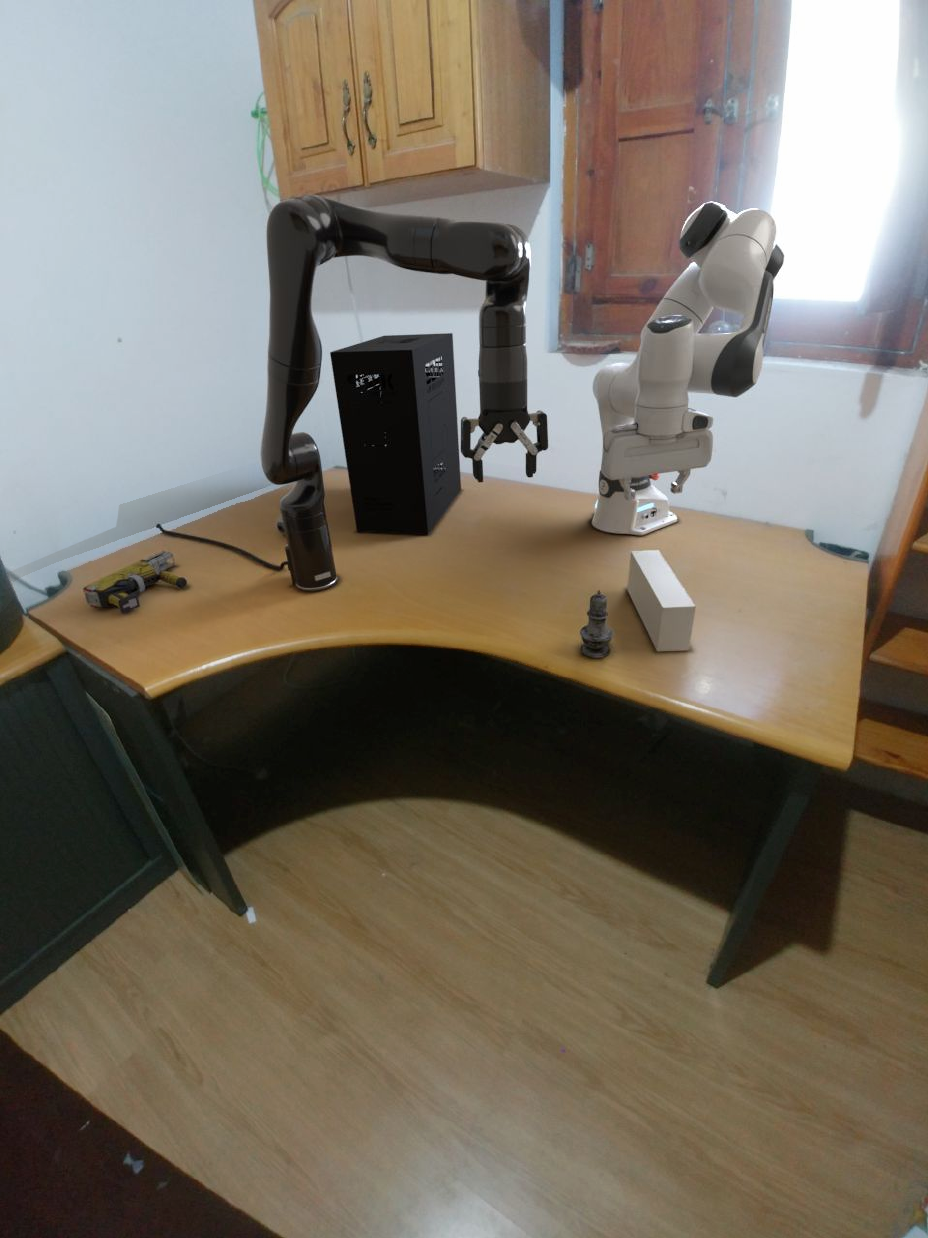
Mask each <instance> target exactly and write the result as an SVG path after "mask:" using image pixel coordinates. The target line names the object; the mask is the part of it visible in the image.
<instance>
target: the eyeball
mask: <svg viewBox="0 0 928 1238" xmlns="http://www.w3.org/2000/svg"><path fill="white" fill-rule="evenodd" d="M275 527H276V529H277V530H278V531H279V532H280V533H281V534H282V535H286V534H285V529H284V525H283V520H282V515H281V513H280V514H279V515H278V516H277V517H276V520H275Z"/></svg>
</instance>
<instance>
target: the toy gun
mask: <svg viewBox="0 0 928 1238" xmlns="http://www.w3.org/2000/svg"><path fill="white" fill-rule="evenodd" d="M170 559H172V562H169V561H168V560H170ZM175 565H176V563H175V557H174V553H172V552H171V551H167V550H162V551H159V552H158V553H155V554H154V555H151V556H149V557H148V558H145V559H140V560H139V561H136V562H134V563H132V564H130V565H128V566H126V567H124V568H121V569H119V570H117V571H115V572H113V573H110V574H109V575H106V576H104V577H102V578H100V579H98V580H95V581H94V582H91V583H89V584H87V585H85V586H84V587H83V588H82V590H83V594H84V596H85V601H86V603H87V604H88V605H89V606H90V607H91V608H94V609H97V608H107V607H108V608H109V607H112V606H116V607H118V608H119V610H120V614H121V615H122V614H123V615H124V614H127V613H129V612H131V611H133V610H135V609H138V608H140V607H141V606H140V602H139V597H138V595H140V594H142V593H144V592H145V591H146V588H147V587H149V586H151V585H154V584H157V583H159V581H163V582H165V583H168V584H169V585H172V586H176V587H177V588H178V589H183V588H186V587H187V586H188V580H187V579H186V578H185V577H183V576H180V575H176V574H174V573H172V572H170V571H167V570H169V569H170V568H172V567H175Z"/></svg>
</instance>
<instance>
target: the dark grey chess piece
mask: <svg viewBox="0 0 928 1238" xmlns="http://www.w3.org/2000/svg"><path fill="white" fill-rule="evenodd" d="M607 608H608V598H607V596H606V595H605V594H603V593H602V590H600V589H599V590H597V591H596V593H595V594H592V595H590V599H589V609H588V610H587V612H586V615H587V617H588V620H587V621H588V622H587V624H586V625H584V626H582V627H581V628H579V636H580V638H581V641H582V644H581V645H580V648H579V649H580V652H581V653H582V654H583V655H585V656H587V657H589V658H594V659H597V658H604V657H607V656H609V654H610V653H611V647H610V646H609V644H610V643H611V640H612V638H614V631H613V629H611V628H610V627H609V626H607V618H608V617H609V612H608V611H607Z"/></svg>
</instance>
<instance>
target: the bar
mask: <svg viewBox="0 0 928 1238" xmlns="http://www.w3.org/2000/svg"><path fill="white" fill-rule="evenodd" d="M626 589H627V592H628V594H629V596H630V599H631V601H632V603H633V605H634V607H635V608H636V609H635V610H636V611H637V613H638V615H639V617H640V619H641V621H642V623H643V625H644V628H645V630H646V631H647V633H648V635H649V637H650V640H651V642H652V644H653V646H654V648H655V650H656V652H682V651H683V652H684V651H690V646H691V639H692V633H693V627H694V621H695V614H696V610H697V609H696V608H697V606H696V605H695V602H694V601H693V600H692V599H691V597H690V595H689V594H688V592H687V590H686V589H685V587H684V586H683V585H682V583H681V582H680V580H679V578H678V577H677V576H676V574H675V572H674V571H673V570H672V568H671V566H670V565H669V563H668V562H667V561H666V559H665V558H664V556H663V555H662V552H660V550H659V549H647V550H631V551H630V558H629V568H628V578H627V587H626Z"/></svg>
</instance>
